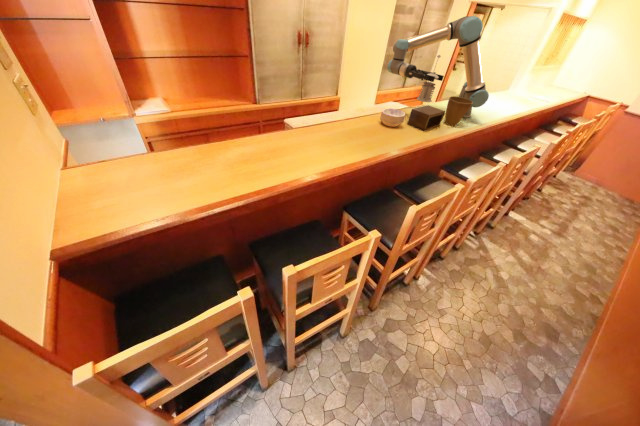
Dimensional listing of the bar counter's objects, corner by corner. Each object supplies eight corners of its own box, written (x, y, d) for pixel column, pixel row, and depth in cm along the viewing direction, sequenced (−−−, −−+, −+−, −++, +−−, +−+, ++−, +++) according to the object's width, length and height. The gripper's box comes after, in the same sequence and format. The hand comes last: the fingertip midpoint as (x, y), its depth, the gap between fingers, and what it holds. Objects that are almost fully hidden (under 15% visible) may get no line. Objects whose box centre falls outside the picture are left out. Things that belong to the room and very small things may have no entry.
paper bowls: (376, 125, 156) (379, 112, 151) (381, 118, 167) (384, 106, 162) (400, 130, 152) (404, 117, 147) (403, 123, 163) (407, 111, 158)
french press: (432, 99, 161) (448, 55, 144) (430, 104, 152) (447, 57, 136) (417, 96, 163) (431, 52, 147) (414, 100, 155) (429, 55, 139)
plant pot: (436, 122, 170) (446, 98, 160) (443, 118, 179) (453, 95, 169) (458, 129, 163) (469, 104, 153) (464, 124, 172) (475, 100, 162)
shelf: (423, 119, 172) (428, 105, 166) (439, 126, 165) (445, 111, 158) (407, 124, 163) (412, 108, 156) (423, 131, 155) (429, 115, 149)
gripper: (415, 76, 167) (445, 84, 155) (396, 78, 156) (426, 87, 144) (419, 63, 162) (450, 71, 150) (399, 64, 151) (430, 72, 139)
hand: (438, 78), depth 147 cm, fingers closed on french press, 9 cm apart
